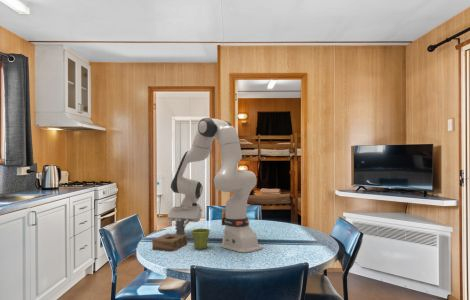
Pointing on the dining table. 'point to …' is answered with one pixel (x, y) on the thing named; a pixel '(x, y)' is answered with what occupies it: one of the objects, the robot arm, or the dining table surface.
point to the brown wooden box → (169, 242)
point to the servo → (180, 227)
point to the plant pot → (200, 238)
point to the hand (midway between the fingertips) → (179, 226)
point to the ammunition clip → (223, 216)
